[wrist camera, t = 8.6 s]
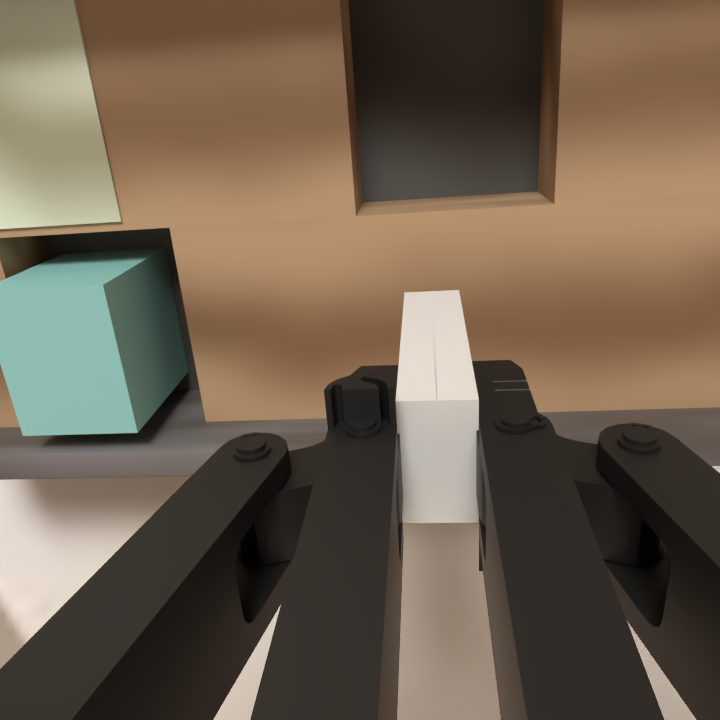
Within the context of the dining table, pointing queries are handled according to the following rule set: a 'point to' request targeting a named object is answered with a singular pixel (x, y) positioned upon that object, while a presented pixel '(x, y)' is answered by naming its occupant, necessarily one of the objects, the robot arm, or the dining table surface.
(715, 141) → the trap board
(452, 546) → the dining table surface
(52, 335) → the block
